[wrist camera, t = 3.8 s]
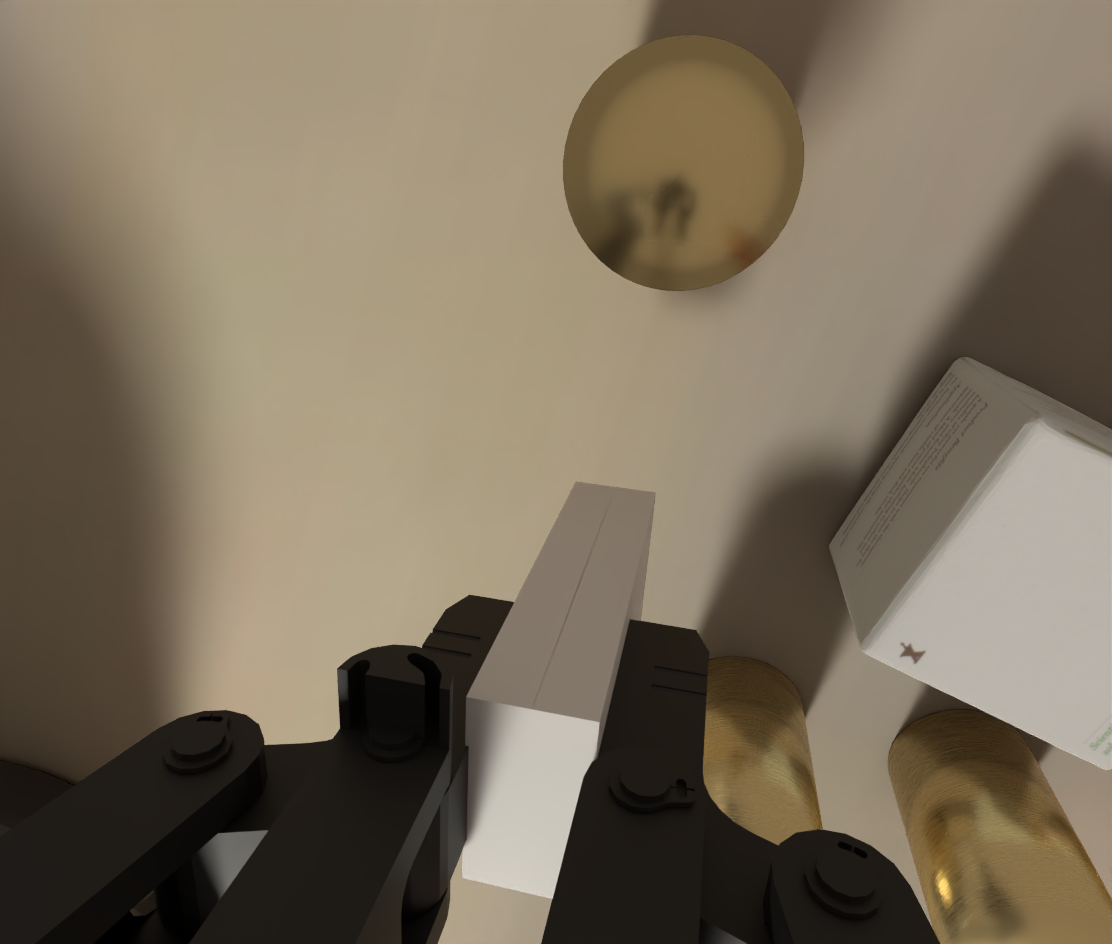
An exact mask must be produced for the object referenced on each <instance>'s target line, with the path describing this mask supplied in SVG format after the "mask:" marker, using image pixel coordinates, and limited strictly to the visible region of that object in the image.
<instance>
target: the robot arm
mask: <svg viewBox="0 0 1112 944" xmlns="http://www.w3.org/2000/svg"><path fill="white" fill-rule="evenodd" d="M655 495H656V493H655V492H648V491H640V490H633V489H626V488H618V487H611V486H604V485H597V484H589V483H582V482H576V483H575V485H574V487H573V489H572V491H571V493H570V494H569V496H568V498H567V500H566V502H565V504H564V506H563V508H562V510H561V512H560V514H559V516H558V518H557V520H556V522H555V524H554V526H553V528H552V530H551V532H550V534H549V536H548V538H547V540H546V541H545V543H544V545H543V547H542V549H541V551H540V553H539V555H538V557H537V559H536V561H535V563H534V565H533V567H532V569H531V571H530V573H529V575H528V577H527V579H526V581H525V583H524V585H523V587H522V588H521V590H520V592H519V594H518V596H517V598H516V600H515V602H510V601H504V600H498V599H492V598H486V597H480V596H474V595H468V596H467V597H465V598H464V599H462V600H460V601H459V602H457V603H456V604H454V605H452V606H451V607H449V608H448V609H446V610H445V612H444V613H443V615H442V616H441V618H440V619H439V621H438V622H437V624H436V625H435V627H434V628H433V632H432V633H430V634H429V636H428V638H427V639H426V641H425V642H424V644H423V645H422V648H420V647H417V646H407V645H388V646H382V647H376V648H371V649H368V650H366V651H364V652H361V653H359V654H357V655H354V656H352V657H350V658H349V659H348V660H347V661H346V662H345V663H343V664H342V665H341V666H340V667H339V668H337V675H338V694H339V714H340V729H339V731H338V732H337V734H336V735H335V737H334V738H333V739H331V740H327V741H321V742H313V743H302V744H280V745H264V738H263V735H262V732H261V729H260V726H259V724H257V723H256V722H255V721H253V720H252V719H251V718H249V717H248V716H247V715H244V714H240V713H236V712H232V711H228V710H221V711H202V712H199V713H195V714H191V715H188V716H184V717H180V718H178V719H176V720H174V721H172V722H170V723H168V724H166V725H164V726H162V727H161V728H159V729H157V730H155V731H154V732H152V733H151V734H150V735H148V736H147V737H145V738H144V739H142V740H141V741H139V742H138V743H136V744H135V745H133V746H132V747H130V748H129V749H128V750H126V751H125V752H123V753H122V754H120V755H119V756H117V757H116V758H114V759H113V760H111V761H110V762H108V763H107V764H106V765H104V766H103V767H101V768H100V769H98V770H97V771H95V772H94V773H92V774H91V775H89V776H88V777H86V778H85V779H84V780H82V781H81V782H79V783H78V784H76V785H75V786H72V785H70V784H68V783H66V782H64V781H62V780H59V779H57V778H55V777H52V776H50V775H47V774H45V773H42V772H39V771H36V770H33V769H30V768H27V767H24V766H20V765H16V764H12V763H8V762H2V761H0V944H437V943H438V941H439V938H440V936H441V933H442V930H443V928H444V925H445V922H446V920H447V916H448V909H449V903H450V880H451V877H452V875H453V872H454V870H455V867H456V865H457V862H458V860H459V857H460V855H461V852H462V850H463V861H462V878H465V879H469V880H473V881H478V882H482V883H486V884H491V885H495V886H499V887H504V888H508V889H512V890H516V891H521V892H525V893H529V894H534V895H538V896H542V897H547V898H551V899H552V903H551V907H550V911H549V915H548V919H547V923H546V927H545V931H544V935H543V939H542V943H541V944H940V942H939V940H938V938H937V936H936V934H935V932H934V930H933V929H932V927H931V925H930V923H929V921H928V919H927V917H926V915H925V913H924V911H923V909H922V907H921V905H920V903H919V902H918V900H917V898H916V896H915V894H914V892H913V890H912V888H911V886H910V885H909V883H908V882H907V881H906V879H905V878H904V877H903V875H902V874H901V873H900V871H899V870H898V868H897V867H896V866H895V864H894V863H892V862H891V861H890V860H889V859H887V858H886V857H885V856H884V855H882V854H881V853H880V852H878V851H877V850H876V849H875V848H873V847H872V846H871V845H869V844H866V843H864V842H862V841H860V840H858V839H855V838H853V837H851V836H849V835H847V834H844V833H838V832H832V831H827V830H821V829H817V830H810V831H803V832H796V833H795V834H793V835H792V836H790V837H789V838H787V839H786V840H784V841H783V842H781V843H780V844H779V845H777V844H774V843H772V842H770V841H768V840H766V839H764V838H762V837H760V836H758V835H756V834H754V833H752V832H750V831H748V830H747V829H745V828H743V827H742V826H740V825H738V824H737V823H735V822H734V821H733V820H731V819H730V818H729V817H728V816H727V815H726V814H724V813H723V812H722V811H721V810H720V809H719V807H718V806H717V805H716V803H715V802H714V801H713V800H712V798H711V797H710V795H709V793H708V790H707V788H706V786H705V784H704V776H703V756H704V737H705V719H706V700H707V699H706V696H707V681H708V679H707V677H708V662H709V651H708V650H707V648H706V646H705V645H704V643H703V641H702V639H701V638H700V636H699V634H698V633H697V631H696V630H692V629H686V628H680V627H674V626H668V625H662V624H656V623H650V622H644V621H641V614H642V605H643V597H644V588H645V580H646V571H647V563H648V554H649V546H650V538H651V529H652V521H653V512H654V504H655Z"/></svg>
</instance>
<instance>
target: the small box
mask: <svg viewBox="0 0 1112 944" xmlns="http://www.w3.org/2000/svg"><path fill="white" fill-rule="evenodd" d="M829 549H830V552H831V556H832V558H833V562H834V565H835V568H836V571H837V574H838V578H839V581H840V585H841V588H842V591H843V594H844V598H845V601H846V604H847V607H848V610H849V614H850V617H851V620H852V623H853V626H854V630H855V633H856V637H857V639H858V642H859V646H860V648H861V650H862V651H863V652H864V653H865V654H867V655H869V656H871V657H872V658H874V659H877V660H879V661H881V662H883V663H885V664H887V665H889V666H891V667H893V668H895V669H897V670H899V671H901V672H903V673H905V674H907V675H909V676H911V677H913V678H915V679H917V680H920V681H922V682H924V683H926V684H928V685H930V686H932V687H934V688H936V689H938V690H940V691H942V692H944V693H947V694H949V695H951V696H953V697H955V698H957V699H959V700H961V701H963V702H966V703H968V704H970V705H972V706H974V707H976V708H978V709H980V710H982V711H984V712H986V713H988V714H990V715H992V716H994V717H996V718H998V719H1000V720H1003V721H1005V722H1007V723H1009V724H1011V725H1013V726H1015V727H1017V728H1019V729H1021V730H1023V731H1025V732H1027V733H1029V734H1031V735H1033V736H1035V737H1037V738H1039V739H1042V740H1044V741H1046V742H1048V743H1050V744H1052V745H1054V746H1056V747H1058V748H1060V749H1062V750H1064V751H1066V752H1068V753H1071V754H1073V755H1075V756H1077V757H1079V758H1081V759H1083V760H1085V761H1088V762H1090V763H1092V764H1094V765H1096V766H1098V767H1100V768H1102V769H1104V770H1110V769H1112V429H1110V428H1108V427H1106V426H1104V425H1103V424H1101V423H1099V422H1097V421H1095V420H1093V419H1091V418H1089V417H1087V416H1086V415H1084V414H1082V413H1080V412H1078V411H1076V410H1074V409H1072V408H1070V407H1068V406H1067V405H1065V404H1063V403H1061V402H1059V401H1057V400H1055V399H1053V398H1051V397H1049V396H1047V395H1045V394H1043V393H1041V392H1039V391H1037V390H1035V389H1033V388H1031V387H1029V386H1027V385H1025V384H1023V383H1021V382H1019V381H1017V380H1015V379H1013V378H1011V377H1009V376H1007V375H1005V374H1003V373H1001V372H998V371H996V370H994V369H992V368H990V367H988V366H986V365H984V364H982V363H980V362H978V361H976V360H973V359H971V358H969V357H962V358H959V359H957V360H956V361H955V362H954V363H953V364H952V365H951V366H950V368H949V369H948V371H947V372H946V374H945V375H944V376H943V378H942V379H941V380H940V382H939V383H938V385H937V386H936V388H935V389H934V390H933V392H932V393H931V395H930V396H929V398H928V399H927V400H926V402H925V403H924V405H923V406H922V408H921V409H920V411H919V412H918V414H917V415H916V417H915V418H914V419H913V421H912V422H911V424H910V425H909V427H908V428H907V430H906V431H905V433H904V434H903V436H902V437H901V439H900V440H899V442H898V443H897V445H896V446H895V448H894V449H893V450H892V452H891V453H890V455H889V456H888V458H887V459H886V461H885V462H884V464H883V465H882V466H881V468H880V469H879V471H878V472H877V474H876V475H875V477H874V478H873V480H872V481H871V483H870V484H869V486H868V487H867V489H866V490H865V492H864V493H863V494H862V496H861V497H860V499H859V500H858V502H857V503H856V505H855V506H854V508H853V509H852V511H851V512H850V514H849V515H848V517H847V518H846V520H845V521H844V523H843V524H842V526H841V527H840V529H839V530H838V532H837V533H836V535H835V536H834V538H833V539H832V541H831V542H830V544H829Z"/></svg>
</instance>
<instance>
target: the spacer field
mask: <svg viewBox="0 0 1112 944" xmlns="http://www.w3.org/2000/svg"><path fill="white" fill-rule="evenodd" d="M803 167H804V142H803V136H802V129H801V125H800V121H799V118H798V114H797V111H796V108H795V106H794V104H793V102H792V100H791V97H790V95H789V93H788V92H787V90H786V89H785V87H784V86H783V84H782V82H781V81H780V80H779V78H778V77H777V76H776V75H775V74H774V73H773V71H772V70H771V69H770V68H769V67H768V66H767V65H766V64H765V63H763V62H762V61H761V60H760V59H759V58H758V57H756V56H755V55H753V54H752V53H750V52H749V51H747V50H745V49H744V48H742V47H740V46H737V45H735V44H733V43H731V42H728V41H725V40H721V39H718V38H714V37H709V36H700V35H679V36H673V37H667V38H662V39H659V40H656V41H653V42H650V43H647V44H644V45H642V46H640V47H638V48H636V49H634V50H632V51H630V52H629V53H627V54H626V55H624V56H623V57H621V58H620V59H618V60H617V61H616V62H615V63H613V64H612V65H611V66H610V67H609V68H608V69H607V70H605V71H604V72H603V73H602V75H601V76H600V77H599V78H598V79H597V80H596V81H595V82H594V84H593V85H592V86H591V88H590V89H589V91H588V92H587V93H586V95H585V96H584V98H583V99H582V101H581V103H580V105H579V107H578V109H577V111H576V113H575V115H574V118H573V120H572V123H571V126H570V128H569V132H568V136H567V140H566V144H565V151H564V159H563V181H564V190H565V196H566V200H567V204H568V208H569V211H570V214H571V217H572V219H573V222H574V224H575V226H576V228H577V230H578V232H579V234H580V236H581V237H582V239H583V240H584V242H585V243H586V244H587V246H588V247H589V249H590V250H591V251H592V252H593V253H594V254H595V255H596V256H597V258H598V259H599V260H600V261H601V262H603V263H604V264H605V265H606V266H607V267H609V268H610V269H611V270H612V271H614V272H616V273H617V274H619V275H620V276H622V277H624V278H626V279H628V280H630V281H632V282H634V283H637V284H639V285H643V286H646V287H650V288H654V289H660V290H667V291H684V290H694V289H699V288H703V287H708V286H711V285H714V284H717V283H719V282H722V281H725V280H727V279H729V278H730V277H732V276H734V275H736V274H738V273H740V272H741V271H743V270H744V269H745V268H747V267H748V266H750V265H751V264H753V263H754V262H755V261H756V260H757V259H758V258H759V257H760V256H761V255H762V254H764V253H765V252H766V250H767V249H768V248H769V247H770V246H771V245H772V243H773V242H774V241H775V240H776V239H777V237H778V236H779V234H780V233H781V231H782V230H783V228H784V227H785V225H786V223H787V221H788V219H789V217H790V215H791V213H792V211H793V208H794V206H795V203H796V200H797V197H798V195H799V190H800V186H801V182H802V177H803ZM707 679H708V681H707V696H706V699H707V700H706V719H705V737H704V756H703V776H704V784H705V786H706V788H707V790H708V793H709V795H710V797H711V798H712V800H713V801H714V802H715V803H716V805H717V806H718V807H719V809H720V810H721V811H722V812H723V813H724V814H726V815H727V816H728V817H729V818H730V819H731V820H733V821H734V822H735V823H737V824H738V825H740V826H742V827H743V828H745V829H747V830H748V831H750V832H752V833H754V834H756V835H758V836H760V837H762V838H764V839H766V840H768V841H770V842H772V843H774V844H777V845H779V844H780V843H781V842H783V841H784V840H786V839H787V838H789V837H790V836H792V835H793V834H795V833H796V832H803V831H810V830H817V829H821V830H823V828H822V822H821V816H820V809H819V803H818V797H817V791H816V784H815V778H814V772H813V766H812V759H811V753H810V747H809V741H808V734H807V728H806V722H805V716H804V709H803V704H802V700H801V697H800V695H799V693H798V691H797V689H796V687H795V686H794V685H793V683H792V682H791V681H790V680H789V679H788V678H787V677H786V676H785V675H784V674H783V673H781V672H780V671H779V670H777V669H776V668H774V667H772V666H770V665H768V664H766V663H764V662H761V661H758V660H755V659H751V658H746V657H722V658H717V659H712V660H709V662H708V677H707ZM888 771H889V776H890V779H891V783H892V786H893V790H894V793H895V797H896V800H897V804H898V807H899V811H900V814H901V818H902V821H903V825H904V828H905V832H906V835H907V839H908V842H909V846H910V849H911V853H912V856H913V860H914V863H915V867H916V870H917V873H918V877H919V880H920V884H921V887H922V891H923V894H924V898H925V901H926V905H927V908H928V912H929V915H930V919H931V922H932V926H933V929H934V932H935V934H936V936H937V938H938V940H939V942H940V944H1112V898H1111V897H1110V895H1109V893H1108V891H1107V889H1106V887H1105V886H1104V884H1103V882H1102V880H1101V878H1100V876H1099V875H1098V873H1097V871H1096V869H1095V867H1094V865H1093V864H1092V862H1091V860H1090V858H1089V856H1088V854H1087V853H1086V851H1085V849H1084V847H1083V845H1082V843H1081V842H1080V840H1079V838H1078V836H1077V834H1076V832H1075V831H1074V829H1073V827H1072V825H1071V823H1070V821H1069V820H1068V818H1067V816H1066V814H1065V812H1064V810H1063V809H1062V807H1061V805H1060V803H1059V801H1058V799H1057V798H1056V796H1055V794H1054V792H1053V790H1052V788H1051V787H1050V785H1049V783H1048V781H1047V779H1046V777H1045V776H1044V774H1043V772H1042V770H1041V768H1040V766H1039V765H1038V763H1037V761H1036V759H1035V757H1034V755H1033V753H1032V752H1031V750H1030V748H1029V746H1028V744H1027V742H1026V741H1025V740H1024V738H1023V737H1022V735H1021V734H1020V733H1019V732H1018V731H1017V730H1016V729H1015V728H1014V727H1012V726H1011V725H1010V724H1008V723H1007V722H1005V721H1003V720H1000V719H998V718H996V717H994V716H992V715H990V714H987V713H983V712H978V711H972V710H948V711H942V712H937V713H934V714H931V715H928V716H925V717H923V718H921V719H919V720H917V721H915V722H913V723H912V724H911V725H909V726H908V727H907V728H905V729H904V730H903V731H902V732H901V733H900V734H899V736H898V737H897V738H896V739H895V741H894V743H893V745H892V747H891V749H890V752H889V757H888Z"/></svg>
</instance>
